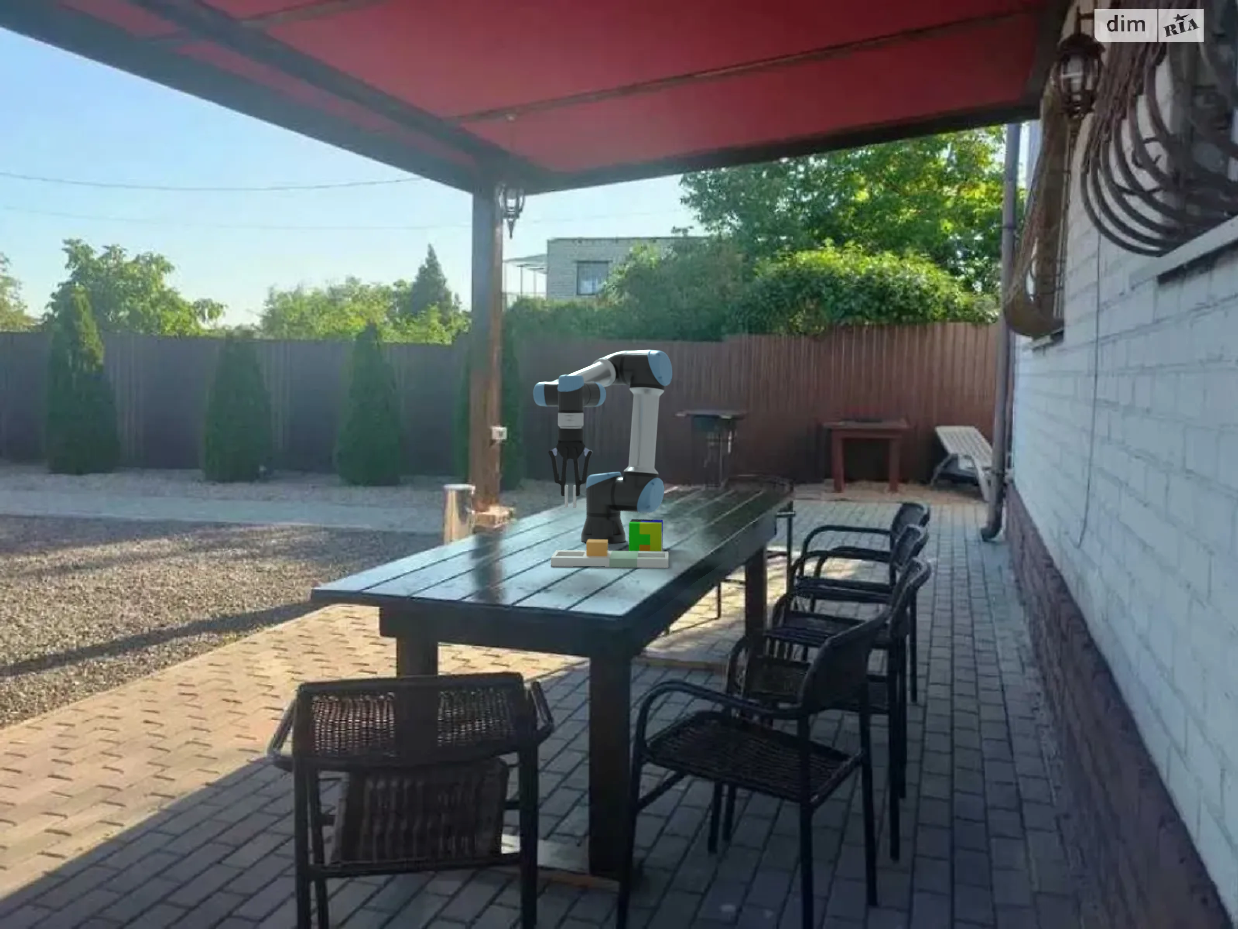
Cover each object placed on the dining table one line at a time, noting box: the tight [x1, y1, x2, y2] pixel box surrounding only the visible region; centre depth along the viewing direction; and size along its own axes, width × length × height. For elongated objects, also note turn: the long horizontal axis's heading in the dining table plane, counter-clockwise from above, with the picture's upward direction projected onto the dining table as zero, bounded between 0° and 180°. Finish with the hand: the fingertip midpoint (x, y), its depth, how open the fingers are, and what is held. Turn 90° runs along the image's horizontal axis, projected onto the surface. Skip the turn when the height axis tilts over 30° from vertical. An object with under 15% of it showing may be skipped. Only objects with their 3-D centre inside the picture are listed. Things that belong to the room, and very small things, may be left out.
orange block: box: [585, 539, 609, 556], centre depth 298 cm, size 6×6×4 cm
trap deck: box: [550, 549, 669, 569], centre depth 298 cm, size 14×34×2 cm, turn 87°
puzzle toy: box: [628, 518, 664, 552], centre depth 317 cm, size 10×10×10 cm
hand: (570, 507), depth 298 cm, fingers open, 2 cm apart
